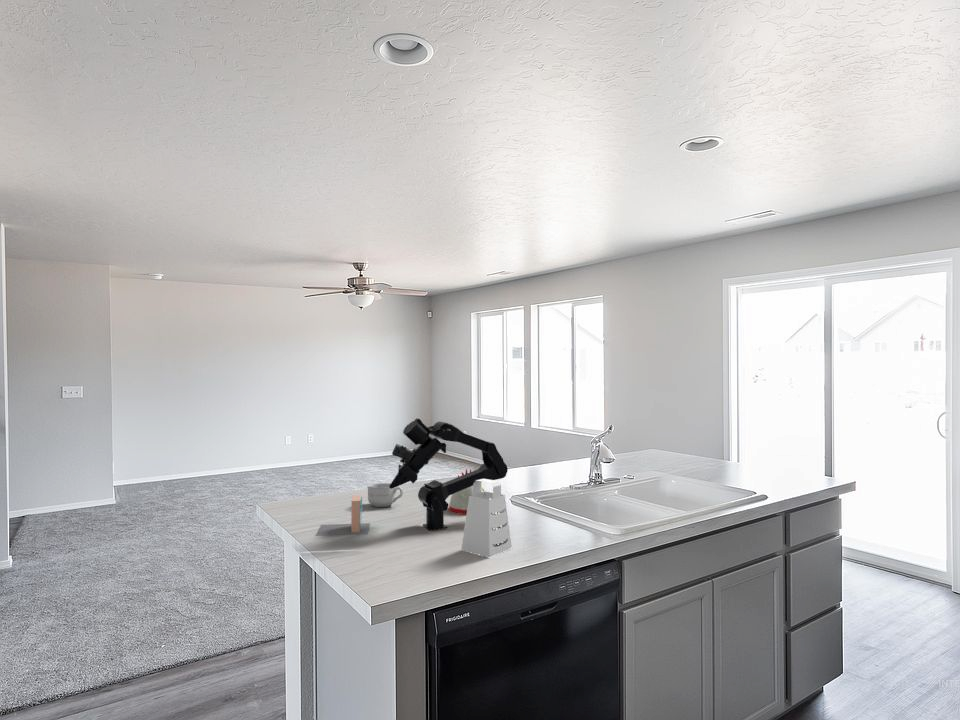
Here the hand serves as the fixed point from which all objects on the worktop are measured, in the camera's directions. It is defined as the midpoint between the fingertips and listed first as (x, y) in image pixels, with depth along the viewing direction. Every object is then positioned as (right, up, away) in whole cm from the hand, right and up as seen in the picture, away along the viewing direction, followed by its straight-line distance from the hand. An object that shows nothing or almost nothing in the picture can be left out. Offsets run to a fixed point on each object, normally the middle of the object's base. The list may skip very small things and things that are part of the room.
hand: (390, 487), depth 185 cm
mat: (-15, -13, -2) cm, 20 cm away
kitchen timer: (+25, -14, +26) cm, 39 cm away
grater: (+31, -14, -19) cm, 39 cm away
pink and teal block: (-11, -13, -1) cm, 17 cm away
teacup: (-6, -14, +30) cm, 34 cm away
